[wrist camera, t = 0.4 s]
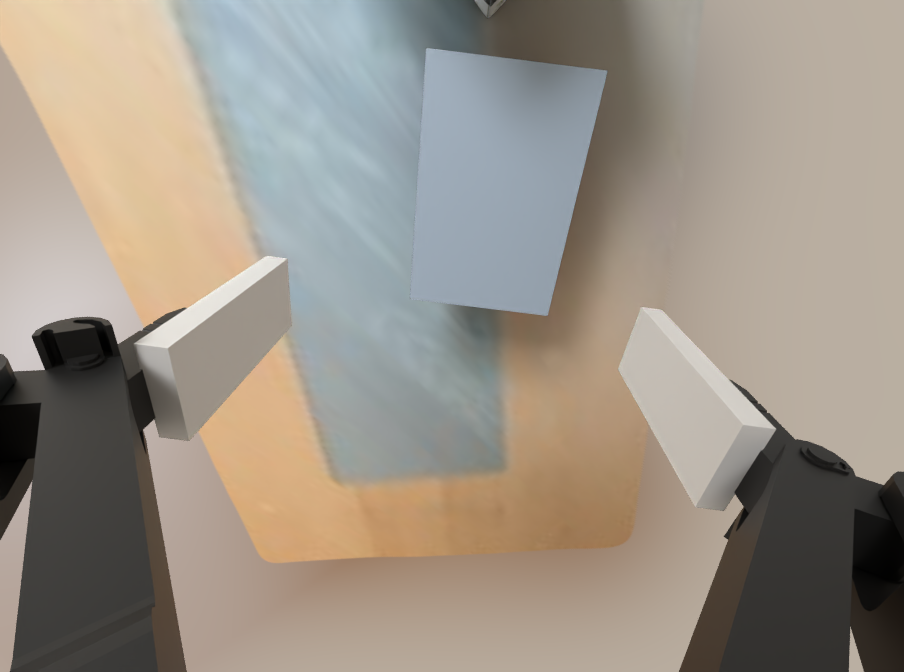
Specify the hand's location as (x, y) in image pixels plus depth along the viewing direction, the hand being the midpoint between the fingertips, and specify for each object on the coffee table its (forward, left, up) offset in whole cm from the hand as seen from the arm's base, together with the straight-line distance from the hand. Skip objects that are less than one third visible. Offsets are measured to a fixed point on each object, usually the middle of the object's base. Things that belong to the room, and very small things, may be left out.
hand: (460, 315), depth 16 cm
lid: (-2, +1, -16) cm, 16 cm away
